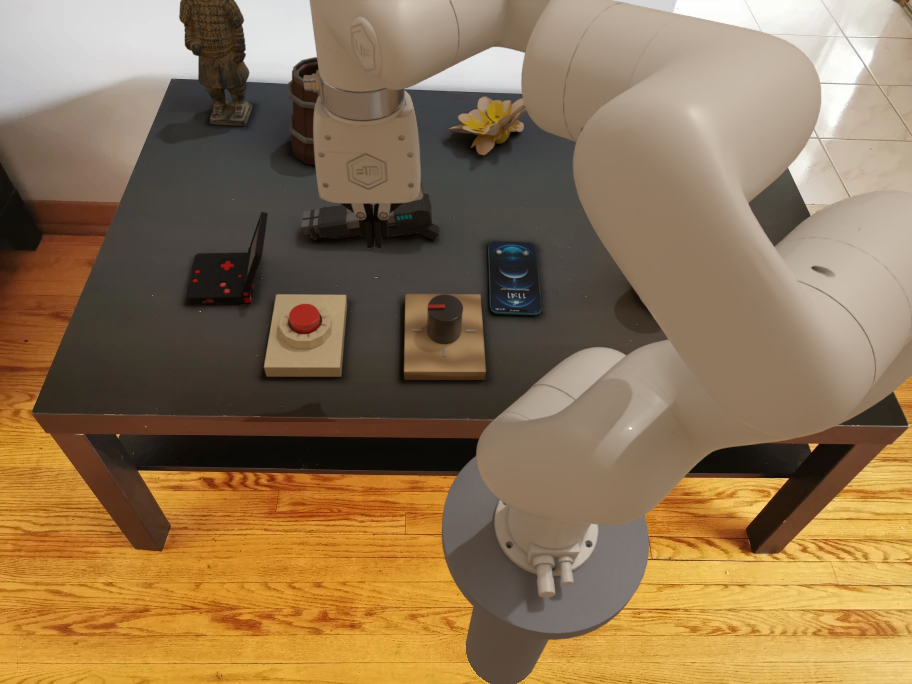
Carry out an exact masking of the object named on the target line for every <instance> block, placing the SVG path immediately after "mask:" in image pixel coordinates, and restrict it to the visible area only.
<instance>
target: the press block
mask: <svg viewBox="0 0 912 684" xmlns="http://www.w3.org/2000/svg"><path fill="white" fill-rule="evenodd" d="M300 304H311V305H313V306H315V307H316V308H317V309H318V311H319V316H320V325H319V327H318V328H317V329H316V330H315V331H314V332H312V333H308V334H300V333H297V332H295V331H294V330H293V329H292V327H291V324H290V319H289V313H290V311H291V310H292V309H293V308H294V307H295V306H297V305H300ZM347 312H348V299H347V294H299V293H298V294H295V293H294V294H293V293H292V294H290V293H287V294H285V293H277V294H275V299H274V305H273V311H272V317H271V322H270V327H269V328H270V329H269V335H268V341H267V346H266V351H265V352H266V353H265V358H264V363H263V364H264V365H263V370H264V373H265V376H266V377H267V378H269V377H271V378H275V377H276V378H277V377H279V378H285V377H287V378H288V377H289V378H290V377H291V378H293V377H294V378H303V377H304V378H323V377H324V378H329V377H330V378H342V374H343V372H342V371H343V361H344V348H345V338H346V337H345V335H346V327H347V326H346V324H347Z"/></svg>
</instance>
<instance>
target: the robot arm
mask: <svg viewBox="0 0 912 684" xmlns="http://www.w3.org/2000/svg"><path fill="white" fill-rule="evenodd" d="M309 6H310V15H311V22H312V30H313V37H314V38H313V39H314V45H315V53H316V57H317V61H318V68H319V70H317V71H316V74H312V75H304V78H303V82H304V90H305V91H313V93H318V98H317V101H316V104H315V108H314V119H313V139H314V155H315V165H314V167H315V176H316V183H317V191H318V198H319V199H320V200H321V201H326V202H329V203H332V204H339V205H343V206H344V207H346V208H347V209H349V210H350V211H351V212H353V213H354V215H355V218H356V219H358V220H359V228H360V235H359V236H360V238H365V239H366V249H372V248H377V249H383V238H389V237H388V218H389V214H390V213H391V212H393V211H394V210H395V209H396V208H398V207H399V206H400V205H401V204H402V203H407V202H412V201H417V200H421V199H422V198H423V193H424V187H423V184H422V180H421V179H422V170H421V168H422V166H421V147H420V137H419V127H418V124H417V122H418V121H417V116H416V113H415V112H416V111H415V107H414V104H413V100H412V97H411V95H410V93H408V92H407V91H406V89H408V88H412V87H413V86H416V85H418V84H419V83H421V82H424V81H425V80H428V79H430V78H432V77H434V76H436V75H438V74H441V73H442V72H444V71H446V70H448V69H450V68H452V67H454V66H455V65H458V64H460V63H461V62H464V61H466V60H468V59H470V58H472V57H475V56H476V55H478V54H481V53H482V52H485V51H487V50H489V49H491V48H502V49H503V48H504V49H509V50H513V51H516V52H520V53H523V54H524V55H523V61H522V66H521V67H522V68H521V76H520V77H521V80H520V85H521V95H522V98H523V101H524V105H525V107H524V109H525V108H526V110H527V112H526V113H527V114H528V116H529V118H530V119H531V120H532V122H533V123H534V124H535V125H536V126H537V127H538V128H539V129H541V130H542V131H544V132H546V133H549V134H551V135H554V136H557V137H560V138H563V139H565V140H568V141H572V142H573V143H575V146H574V150H573V156H572V175H573V181H574V187H575V189H576V193H577V197H578V200H579V202H580V205H581V206H582V209H583V210H584V213H585V215H586V217H587V219H588V221H589V223H590V225H591V227H592V228H593V231H594V232H595V234H596V235H597V238H598V239H599V240H600V241H601V243H602V245H603V247H604V248H605V249H606V251H607V252H608V253H609V255H610V257H611V258H612V260H613V261H614V262H615V264H616V265H617V267H618V269H619V270H620V271H621V273H622V274H623V276H624V277H625V279H626V280H627V281H628V283H629V284H630V286H631V287H632V289H633V290H634V292H635V294H636V295H637V296H638V298H639V299H640V301H641V300H642V301H643V302H642V301H641V302H642V304H643V305H644V306H645V307H646V308H647V311H648V312H649V313H650V314H651V316H652V318H653V319H654V320H655V322H656V323H657V325H658V326H659V328H660V329H661V331H662V332H663V334H664V335H665V337H666V338H667V339H664V340H660V341H659V340H658V341H655V342H651V343H648V344H645V345H642V346H640V347H638V348H635V349H633V350H632V351H631V352H629V353H627V354H625V353H624V352H622V351H619V350H617V349H614V348H610V347H604V346H595V347H594V346H593V347H589V348H584V349H581V350H579V351H576V352H574V353H572V354H571V355H569V356H568V357H566V358H565V359H562V361H561V362H559V363H558V364H556V365H555V366H554V367H553V368H551V369H550V370H549V371H548V372H547V373H546V374H544V375H543V376H542V377H541V378H540V379H538V380H537V381H536V382H535V383H534V384H533V385H532V386H530V387H529V388H528V390H526V392H525V393H523V394H522V395H521V396H520V397H519V398H518V399H516V400H515V401H514V402H512V403H511V405H509V406H508V407H507V408H506V409H504V410H503V411H502V412H501V413H500V414H499V415H498V416H497V417H495V418H494V419H493V420H492V421H491V422H489V424H488V425H487V426H486V427H485V429H483V431H482V433H481V434H480V436H479V439H478V441H477V444H476V452H475V453H476V454H475V456H476V459H477V465H478V469H479V472H480V475H481V477H482V479H483V481H484V482H485V484H486V486H487V487H488V488H489V490H490V491H491V492H492V493H493V494H494V495H495V496H496V497H497V498H498V499H499V503H498V505H497V508H496V512H495V519H494V527H495V533H496V537H497V540H498V542H499V545H500V547H501V548H502V550H503V551H504V553H505V554H506V555H507V557H508V558H509V559H510V560H511V561H512V562H513V563H515V564H516V565H517V566H519V567H520V568H522V569H524V570H526V571H527V572H530V573H533V574H536V575H537V577H538V579H537V586H538V596H540V597H545V598H547V597H552V596H555V595H556V594H555V585H554V578H553V576H561V581H562V585H564V586H570V585H573V584H574V580H573V573H572V572H573V571H575V570H577V569H578V568H579V567H581V566H582V565H583V564H584V563H585V562H586V561H587V560H588V558H589V557H590V556H591V554H592V552H593V550H594V548H595V545H596V543H597V538H598V525H621V524H625V523H629V522H631V521H634V520H636V519H638V518H640V517H642V516H646V515H647V514H649V513H650V512H651V511H653V510H654V509H655V508H656V507H657V506H658V505H659V504H660V503H662V502H663V501H664V500H665V499H666V498H667V497H668V495H669V494H671V492H672V491H673V490H674V489H675V488H676V487H677V485H678V484H679V483H681V481H682V480H683V479H684V478H685V477H686V475H687V474H689V473H690V471H691V470H692V469H693V468H694V467H695V466H697V464H698V463H700V462H701V461H702V460H703V459H704V458H705V457H707V456H708V455H710V454H711V453H712V452H715V451H718V450H721V449H727V448H734V447H742V446H743V447H744V446H750V445H759V444H766V443H774V442H775V443H776V442H783V441H788V440H793V439H797V438H803V437H806V436H811V435H816V434H818V433H822V432H824V431H826V430H829V429H831V428H833V427H836V426H839V425H841V424H843V423H845V422H847V421H850V420H851V419H854V418H855V417H857V416H859V415H860V414H862V413H864V412H865V411H867V410H868V409H870V408H872V407H874V406H875V405H877V404H878V403H880V402H881V401H883V400H884V399H885V398H886V397H888V396H890V395H891V394H892V393H893V392H895V391H896V390H898V388H899V387H901V386H902V385H903V384H904V383H906V381H907V380H909V378H910V377H912V192H909V191H903V190H875V191H869V192H865V193H860V194H855V195H852V196H849V197H846V198H844V199H840V200H839V201H836V202H833V203H831V204H829V205H827V206H825V207H823V208H821V209H819V210H818V211H816V212H814V213H813V214H811V215H810V216H808V217H807V218H805V219H804V220H803V221H801V222H800V223H799V224H797V226H796V227H794V228H793V229H792V230H791V231H790V232H789V233H788V234H786V235H785V236H784V237H783V238H782V239H781V240H780V241H779V242H778V243H777V244H775V245H773V243H772V241H771V240H770V238H769V237H768V235H767V234H766V232H765V231H764V229H763V227H762V226H761V224H760V222H759V220H758V219H757V217H756V216H755V214H754V213H753V210H752V209H751V206H750V203H751V202H752V201H753V200H754V199H755V198H756V197H757V196H759V194H761V193H763V191H764V190H765V189H767V188H768V187H769V186H770V185H772V184H773V183H774V182H775V181H776V180H777V179H778V178H780V176H782V174H783V173H784V172H785V171H786V170H787V169H788V168H790V166H791V165H792V164H793V163H794V162H795V161H796V160H797V158H798V157H799V155H801V153H802V152H803V150H804V149H805V147H806V146H807V144H808V142H809V140H810V138H811V136H812V135H813V133H814V130H815V128H816V125H817V123H818V120H819V116H820V112H821V107H822V84H821V79H820V76H819V74H818V72H817V69H816V67H815V65H814V63H813V62H812V60H811V59H810V57H808V55H807V54H806V53H805V52H804V51H802V50H801V49H800V48H799V47H797V46H796V45H795V44H793V43H791V42H790V41H788V40H786V39H784V38H782V37H781V38H780V37H778V36H776V35H772V34H770V33H767V32H764V31H760V30H756V29H752V28H747V27H744V26H743V27H742V26H738V25H734V24H729V23H725V22H719V21H716V20H715V21H714V20H711V19H706V18H701V17H696V16H690V15H685V14H680V13H675V12H671V11H667V10H661V9H658V8H657V9H656V8H652V7H648V6H647V7H646V6H643V5H642V6H641V5H636V4H632V3H629V2H624V1H619V0H309ZM371 203H375V205H374V215H373V205H371ZM504 503H505V504H506V505H504ZM586 545H588V546H589V547H587V546H586ZM507 546H510V547H511V548H507ZM552 569H553V571H552Z"/></svg>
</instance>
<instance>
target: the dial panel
mask: <svg viewBox="0 0 912 684" xmlns="http://www.w3.org/2000/svg"><path fill="white" fill-rule="evenodd" d="M443 294H444V293H405V295H404V349H403V381H485V380H486V374H487V367H486V354H485V353H486V352H485V338H484V324H483V323H484V322H483V312H482V311H483V310H482V297H481V294H480V293H479V294H473V293H465V294H464V293H446V294H447V295H452V296H454V297H456V298H458V299H459V300H460V301H461V303H462V305H463V317H462V328H461V335H460V337H459V338H458V339H457V340H456V341H454V342H452V343H449V344H440V343H436V342H434V341H433V340H432V339H431V338H430V337H429V336H428V334H427V308H428V303H429V302H430V300H431V299H432V298H434V297H435V296H438V295H443Z"/></svg>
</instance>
